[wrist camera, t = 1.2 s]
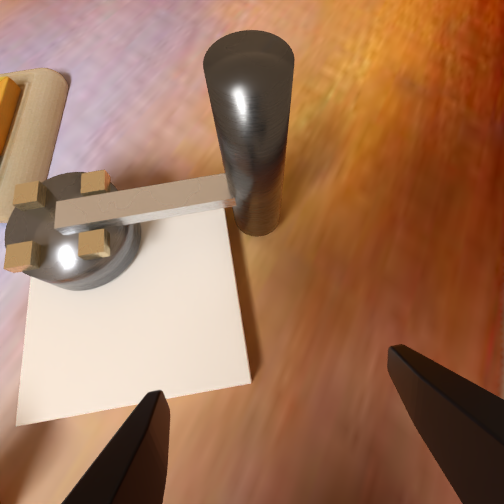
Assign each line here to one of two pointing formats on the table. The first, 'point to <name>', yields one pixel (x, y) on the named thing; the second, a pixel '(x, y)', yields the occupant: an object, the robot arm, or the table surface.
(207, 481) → the table surface
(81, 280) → the dark cylinder with bar
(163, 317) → the cap plate
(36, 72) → the wooden puzzle
